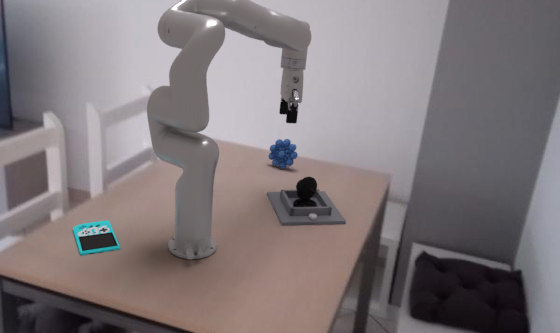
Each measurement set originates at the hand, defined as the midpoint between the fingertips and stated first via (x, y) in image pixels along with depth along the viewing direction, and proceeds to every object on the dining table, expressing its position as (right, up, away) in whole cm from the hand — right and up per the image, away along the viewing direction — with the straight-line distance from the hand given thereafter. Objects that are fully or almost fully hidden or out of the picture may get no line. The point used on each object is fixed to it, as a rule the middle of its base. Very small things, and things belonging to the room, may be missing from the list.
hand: (287, 118), depth 167 cm
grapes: (-1, -16, +37) cm, 40 cm away
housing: (+5, -28, +5) cm, 29 cm away
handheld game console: (-51, -35, -23) cm, 66 cm away
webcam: (+6, -28, +5) cm, 29 cm away
